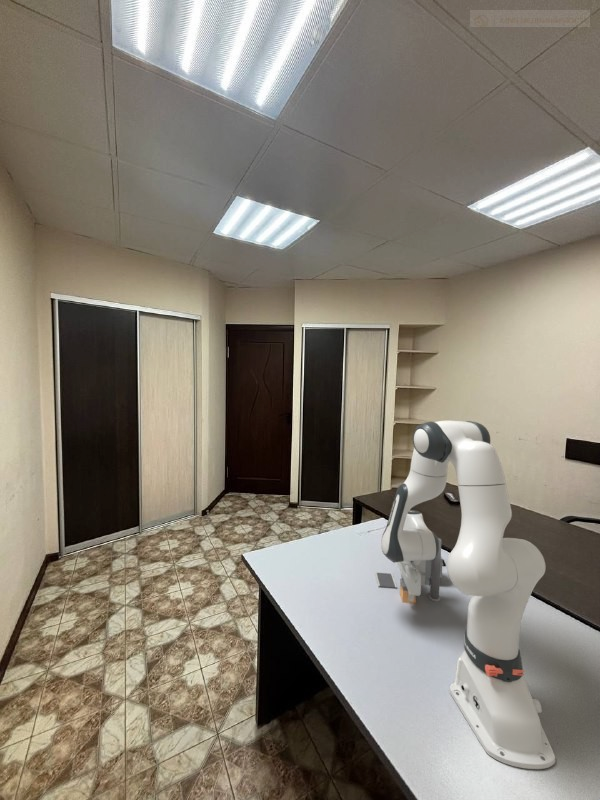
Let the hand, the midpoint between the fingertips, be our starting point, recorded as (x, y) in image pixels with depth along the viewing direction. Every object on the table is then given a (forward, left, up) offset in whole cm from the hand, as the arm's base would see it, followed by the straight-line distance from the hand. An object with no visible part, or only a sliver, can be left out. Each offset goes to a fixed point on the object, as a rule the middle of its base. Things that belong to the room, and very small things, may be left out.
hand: (407, 591), depth 117 cm
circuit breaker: (+13, -10, -3) cm, 17 cm away
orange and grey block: (0, 0, -3) cm, 3 cm away
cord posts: (+13, -10, -3) cm, 17 cm away
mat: (+10, +6, -3) cm, 12 cm away
